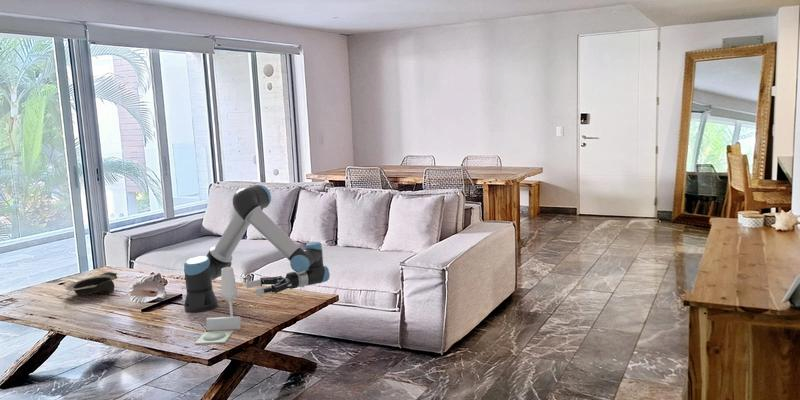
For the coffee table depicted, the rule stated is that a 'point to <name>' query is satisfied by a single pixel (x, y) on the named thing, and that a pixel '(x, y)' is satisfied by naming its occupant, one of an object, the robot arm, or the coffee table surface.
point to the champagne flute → (228, 286)
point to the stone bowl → (94, 284)
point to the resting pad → (214, 337)
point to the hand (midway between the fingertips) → (251, 288)
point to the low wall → (223, 323)
